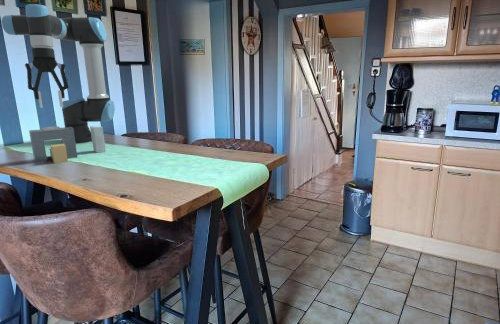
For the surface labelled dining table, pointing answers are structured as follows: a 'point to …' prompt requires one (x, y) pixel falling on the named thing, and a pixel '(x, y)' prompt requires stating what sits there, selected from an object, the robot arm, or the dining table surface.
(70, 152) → the housing
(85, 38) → the robot arm
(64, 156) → the plug
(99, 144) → the skincare box
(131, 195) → the dining table surface
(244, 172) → the dining table surface
